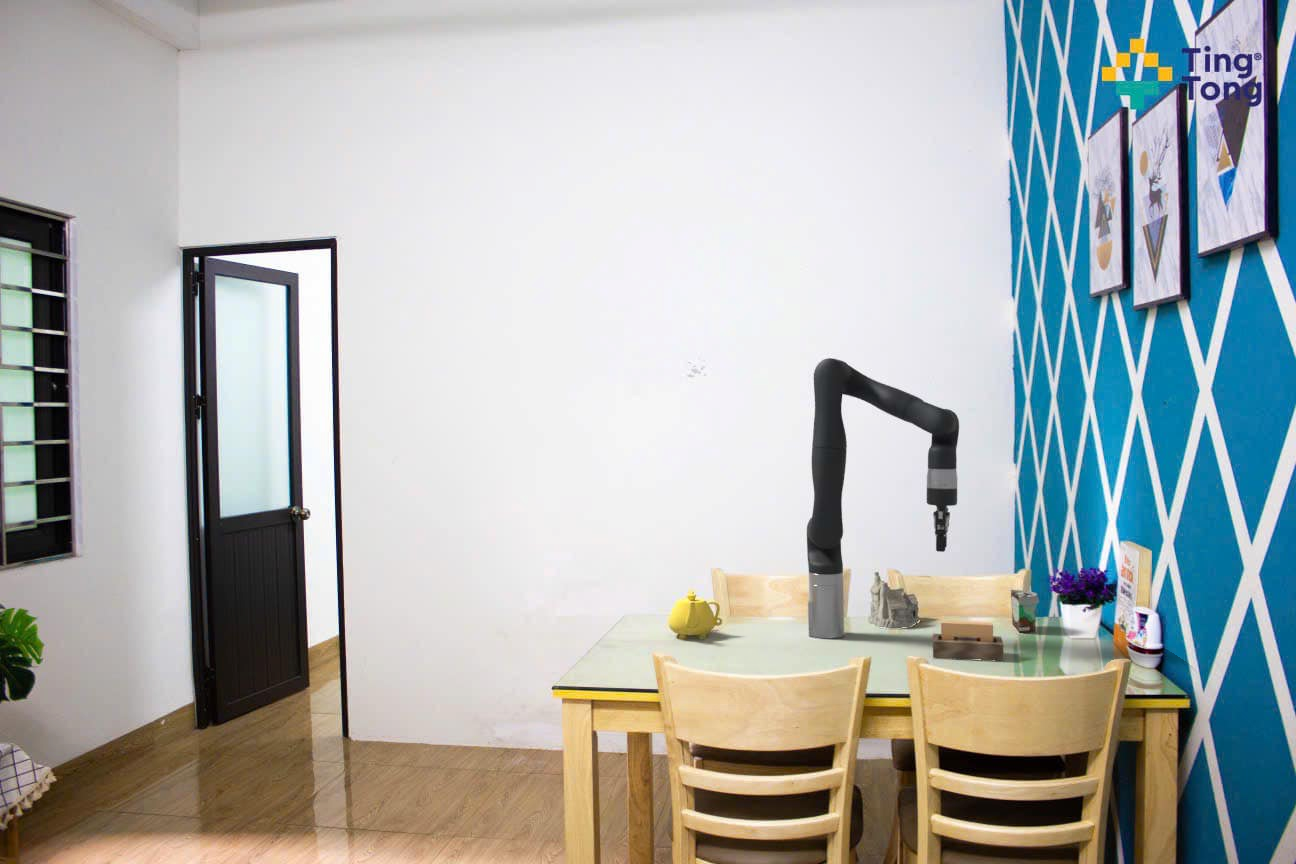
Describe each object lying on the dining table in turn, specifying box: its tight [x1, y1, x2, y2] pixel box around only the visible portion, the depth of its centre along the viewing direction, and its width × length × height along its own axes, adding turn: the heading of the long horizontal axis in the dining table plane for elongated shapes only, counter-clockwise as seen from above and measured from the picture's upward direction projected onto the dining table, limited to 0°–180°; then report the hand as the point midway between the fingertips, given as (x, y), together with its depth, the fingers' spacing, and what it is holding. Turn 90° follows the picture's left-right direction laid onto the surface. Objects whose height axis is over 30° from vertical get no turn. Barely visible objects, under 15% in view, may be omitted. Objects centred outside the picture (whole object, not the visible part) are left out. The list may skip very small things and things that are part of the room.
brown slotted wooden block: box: [932, 633, 1004, 662], centre depth 226 cm, size 16×9×4 cm, turn 72°
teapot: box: [668, 588, 723, 640], centre depth 255 cm, size 20×15×12 cm
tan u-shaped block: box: [940, 620, 994, 642], centre depth 226 cm, size 12×3×8 cm, turn 71°
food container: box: [1010, 589, 1040, 634], centre depth 252 cm, size 12×6×10 cm, turn 168°
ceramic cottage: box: [867, 571, 921, 628], centre depth 266 cm, size 16×16×15 cm
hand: (941, 549), depth 237 cm, fingers open, 8 cm apart
